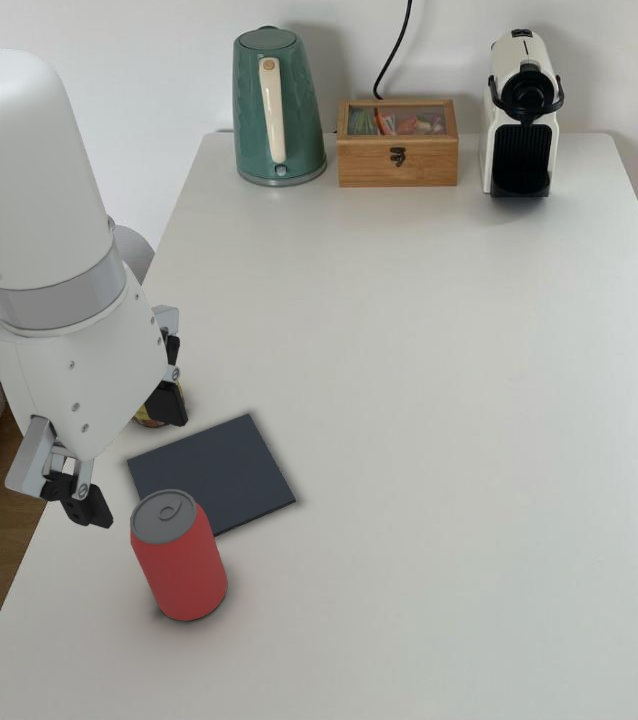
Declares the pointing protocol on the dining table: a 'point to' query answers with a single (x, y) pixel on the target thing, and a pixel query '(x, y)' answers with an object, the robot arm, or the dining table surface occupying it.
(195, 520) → the beer can
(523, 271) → the dining table surface
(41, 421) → the robot arm
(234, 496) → the mat
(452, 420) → the dining table surface
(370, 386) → the dining table surface
